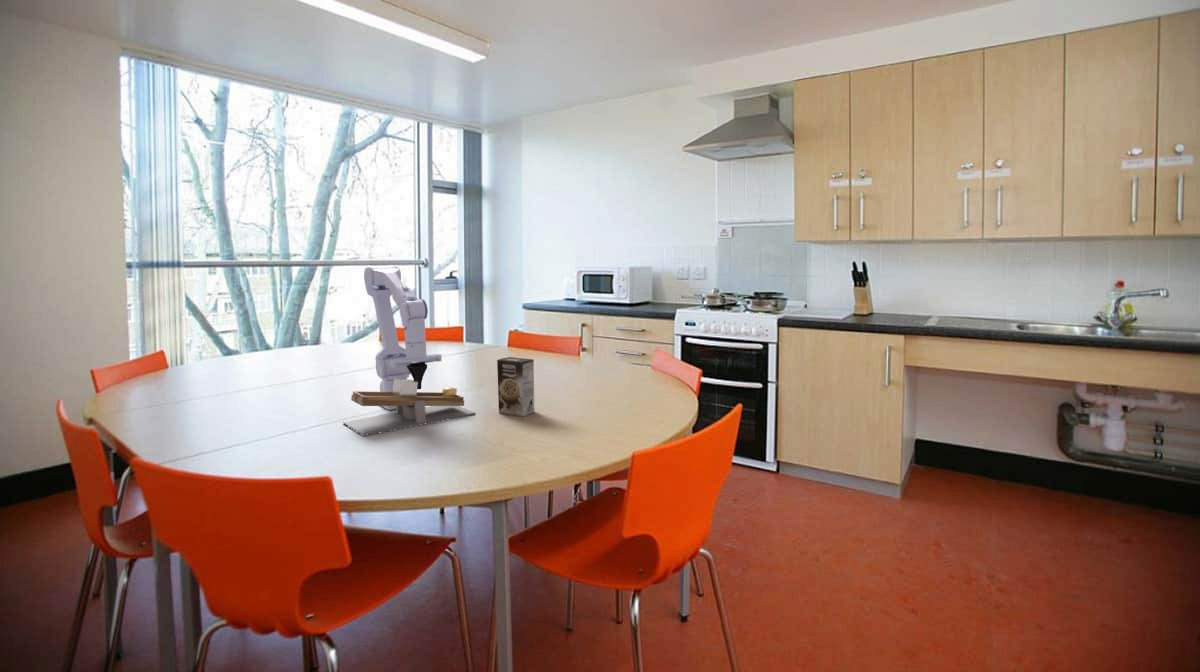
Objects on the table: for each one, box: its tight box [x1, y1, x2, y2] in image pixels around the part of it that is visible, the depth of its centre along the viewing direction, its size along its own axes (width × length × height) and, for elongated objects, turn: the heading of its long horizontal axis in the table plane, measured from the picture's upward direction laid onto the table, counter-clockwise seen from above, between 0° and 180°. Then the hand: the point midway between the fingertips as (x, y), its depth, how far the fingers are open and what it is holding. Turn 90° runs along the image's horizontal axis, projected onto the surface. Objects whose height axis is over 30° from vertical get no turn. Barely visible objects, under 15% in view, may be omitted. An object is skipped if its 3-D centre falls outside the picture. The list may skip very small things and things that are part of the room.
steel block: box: [392, 378, 418, 397], centre depth 183 cm, size 5×5×5 cm
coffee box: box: [496, 356, 535, 417], centre depth 190 cm, size 9×6×16 cm
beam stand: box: [342, 400, 476, 435], centre depth 184 cm, size 16×33×6 cm, turn 129°
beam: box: [350, 390, 465, 407], centre depth 184 cm, size 12×30×2 cm, turn 129°
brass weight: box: [442, 386, 458, 397], centre depth 191 cm, size 4×4×3 cm
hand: (418, 388), depth 185 cm, fingers closed
